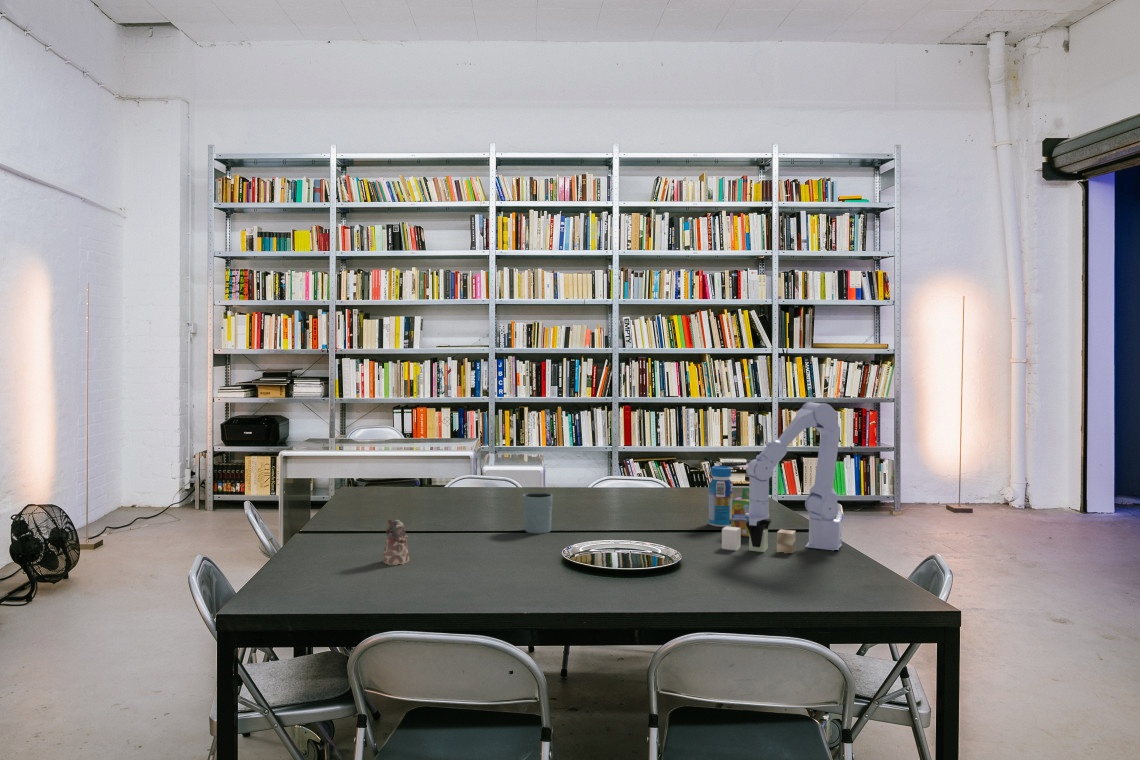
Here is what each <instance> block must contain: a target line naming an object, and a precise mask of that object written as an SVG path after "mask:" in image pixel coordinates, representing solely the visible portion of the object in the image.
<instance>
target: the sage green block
mask: <svg viewBox="0 0 1140 760" xmlns="http://www.w3.org/2000/svg"><path fill="white" fill-rule="evenodd" d="M768 541H769V528H768V529H764V531H763V534H762V540H761V545H760V547H753V546H752V541H751V537H750V533H749V539H748V551H752V552H758V553H759V552H760V553H765V552H766V551H767V550H768V549H769V547H768V545H769V544H768V543H769V542H768Z"/></svg>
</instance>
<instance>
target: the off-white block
mask: <svg viewBox="0 0 1140 760" xmlns="http://www.w3.org/2000/svg"><path fill="white" fill-rule="evenodd" d="M741 537H742V536H741V528H738V527H731V526H726V527H722V528H721V549H722V550H729V551H738V550H739V549H741V546H742V545H741V541H742V540H741V539H742V538H741Z"/></svg>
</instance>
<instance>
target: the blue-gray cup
mask: <svg viewBox="0 0 1140 760" xmlns="http://www.w3.org/2000/svg"><path fill="white" fill-rule="evenodd" d="M553 502H554V501H553V494H552V493H550V492H527V493H523V494H522V503H523V515H524V517H523V518H524V530H525V532H526V533H529V534H546V533H550V532H551V531H552V513H553Z"/></svg>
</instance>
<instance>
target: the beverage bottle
mask: <svg viewBox="0 0 1140 760" xmlns="http://www.w3.org/2000/svg"><path fill="white" fill-rule="evenodd" d="M710 468H711V469H710V474H711V477H712V479H711V480H710V482H709V485H708V488H709V492H708V524H709V525H710V526H712V527H719V528H724V527H726V526H729V527H731V521H732V500H734V492H733V489H734V485H733V483H732V481H731V479H730V478H731V477H732V468H731V466H728V465H727V466H726V465H715V466H714V465H713V466H712V467H710Z"/></svg>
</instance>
